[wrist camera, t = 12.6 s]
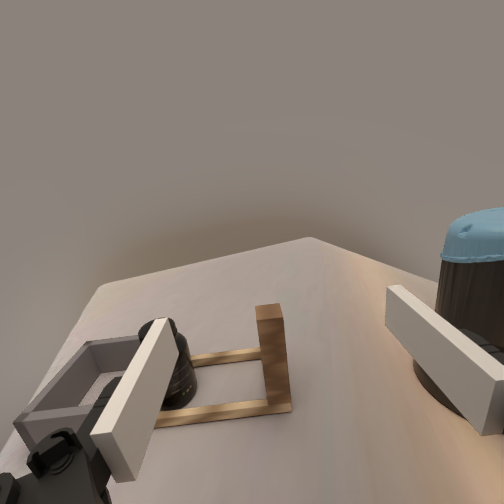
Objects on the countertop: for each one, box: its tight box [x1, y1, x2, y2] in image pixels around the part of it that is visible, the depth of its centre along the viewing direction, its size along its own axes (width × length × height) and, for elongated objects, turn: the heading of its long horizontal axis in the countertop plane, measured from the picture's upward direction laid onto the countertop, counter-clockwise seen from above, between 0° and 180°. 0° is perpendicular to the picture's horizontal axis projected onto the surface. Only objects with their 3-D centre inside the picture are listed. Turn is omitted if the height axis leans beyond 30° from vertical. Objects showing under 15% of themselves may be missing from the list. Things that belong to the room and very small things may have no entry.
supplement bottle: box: [138, 317, 197, 411], centre depth 35 cm, size 7×7×12 cm
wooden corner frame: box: [154, 303, 292, 428], centre depth 35 cm, size 22×11×14 cm, turn 92°
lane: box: [13, 335, 140, 452], centre depth 37 cm, size 12×14×6 cm
